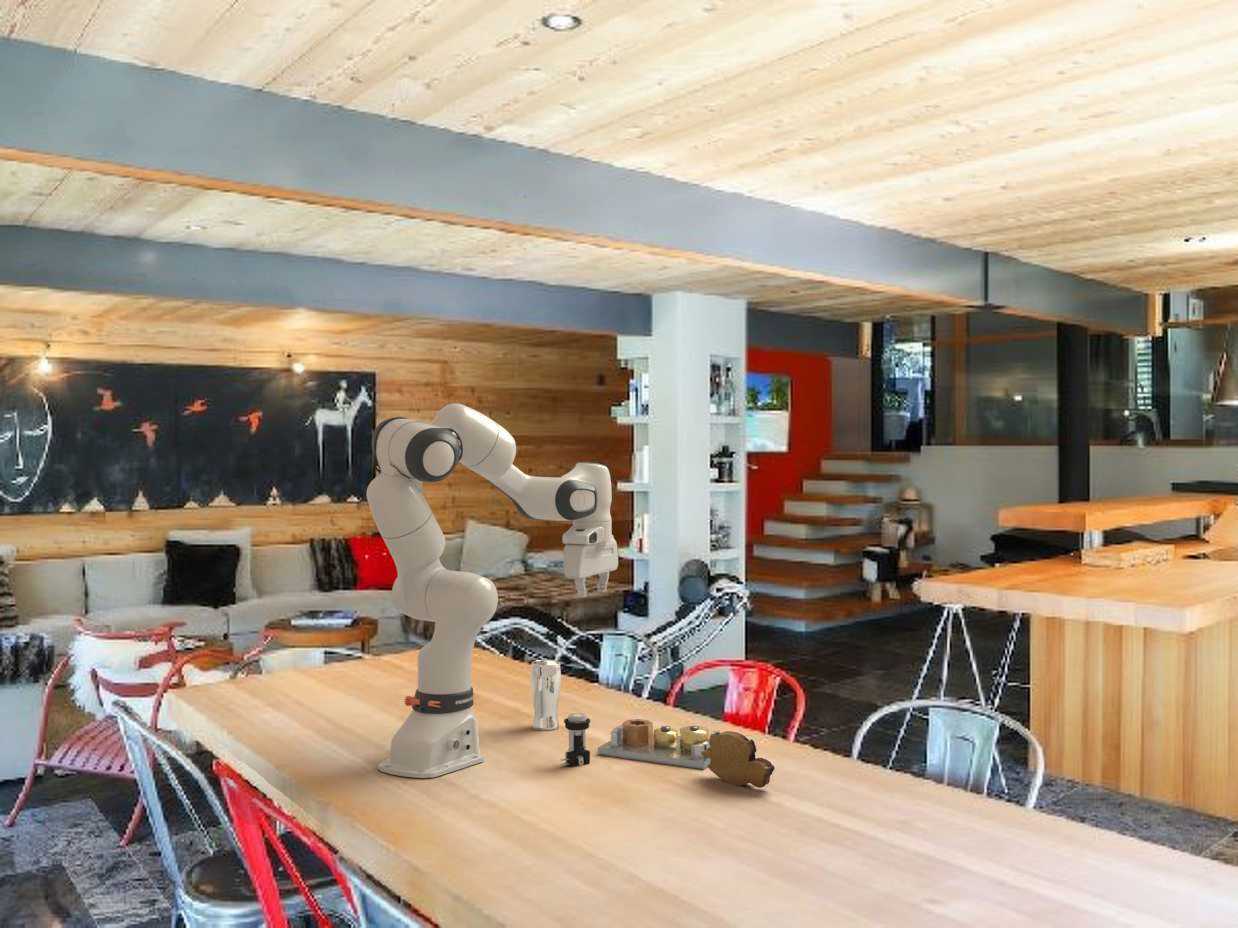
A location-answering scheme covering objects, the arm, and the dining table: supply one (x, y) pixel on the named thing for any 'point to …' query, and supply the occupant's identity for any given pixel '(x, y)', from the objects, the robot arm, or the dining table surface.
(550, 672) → the beer glass
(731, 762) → the wooden carving
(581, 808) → the dining table surface
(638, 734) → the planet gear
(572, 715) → the push button
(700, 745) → the carrier
